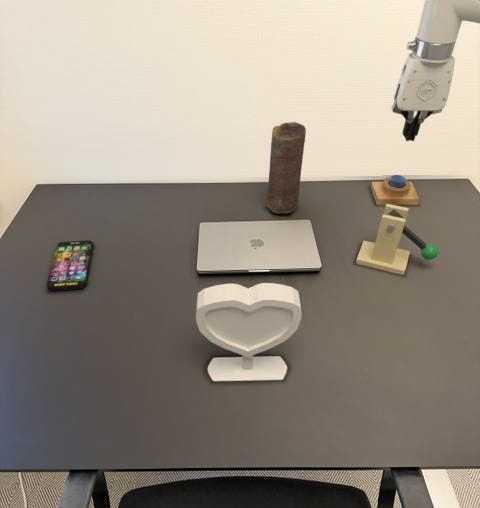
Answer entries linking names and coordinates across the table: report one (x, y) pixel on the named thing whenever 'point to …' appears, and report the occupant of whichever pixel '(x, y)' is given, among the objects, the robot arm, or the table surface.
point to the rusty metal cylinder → (285, 167)
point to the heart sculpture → (248, 327)
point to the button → (397, 181)
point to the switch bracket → (386, 244)
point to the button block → (394, 193)
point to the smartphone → (70, 265)
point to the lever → (418, 240)
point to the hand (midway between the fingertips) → (408, 138)
